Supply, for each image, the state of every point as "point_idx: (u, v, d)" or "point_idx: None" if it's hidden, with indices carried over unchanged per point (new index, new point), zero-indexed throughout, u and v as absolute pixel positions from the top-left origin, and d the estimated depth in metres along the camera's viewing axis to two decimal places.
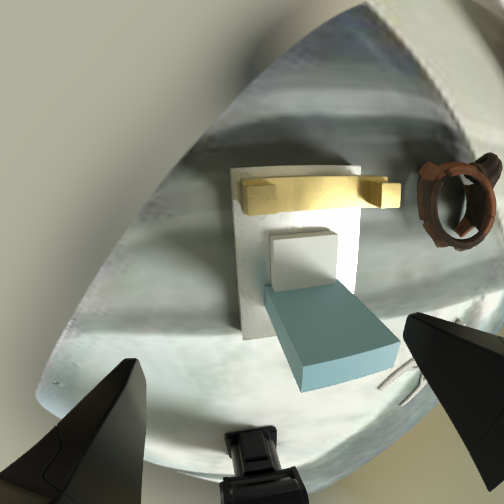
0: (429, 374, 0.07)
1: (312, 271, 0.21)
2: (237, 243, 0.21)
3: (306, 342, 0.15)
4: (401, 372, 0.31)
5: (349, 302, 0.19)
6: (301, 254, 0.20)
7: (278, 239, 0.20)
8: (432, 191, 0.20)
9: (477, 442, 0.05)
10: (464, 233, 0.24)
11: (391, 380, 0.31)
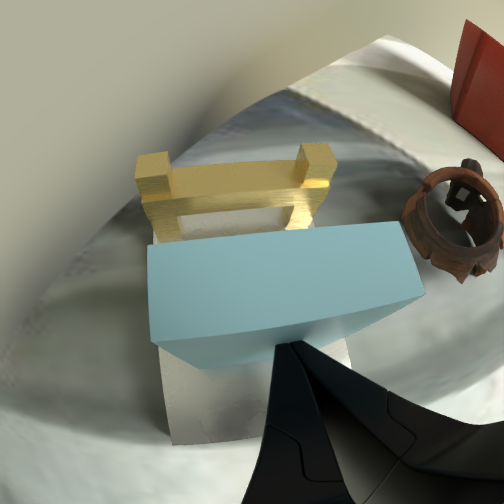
0: None
1: None
2: None
3: None
4: None
5: None
6: None
7: None
8: (418, 211, 0.17)
9: None
10: None
11: None
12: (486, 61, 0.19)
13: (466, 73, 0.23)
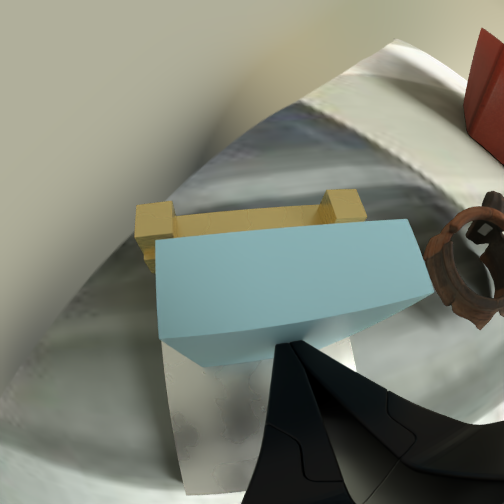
0: None
1: None
2: (164, 343, 0.14)
3: None
4: None
5: None
6: None
7: None
8: (444, 257, 0.15)
9: None
10: None
11: None
12: None
13: (484, 87, 0.22)
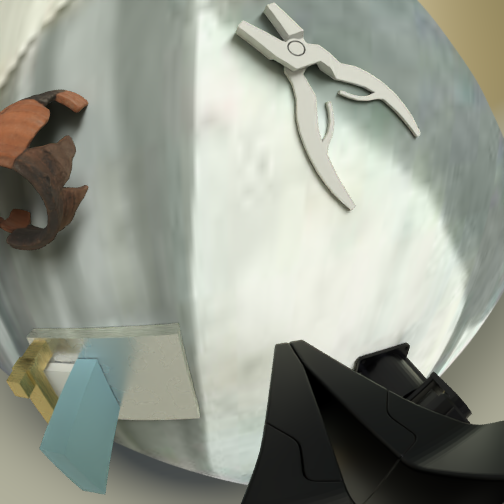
0: None
1: None
2: None
3: None
4: (325, 167, 0.18)
5: None
6: None
7: None
8: (22, 249, 0.13)
9: None
10: (72, 107, 0.13)
11: (338, 187, 0.19)
12: None
13: None
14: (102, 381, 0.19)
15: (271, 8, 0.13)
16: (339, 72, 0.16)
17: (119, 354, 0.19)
